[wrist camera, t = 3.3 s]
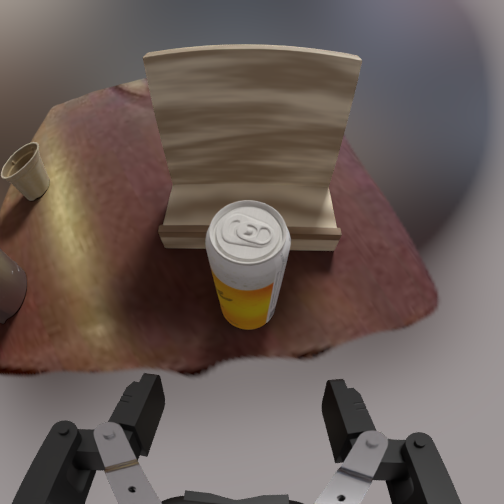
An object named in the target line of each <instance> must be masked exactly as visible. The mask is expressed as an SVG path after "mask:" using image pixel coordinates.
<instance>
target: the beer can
mask: <svg viewBox="0 0 504 504" xmlns="http://www.w3.org/2000/svg"><path fill="white" fill-rule="evenodd" d="M205 245H206V250H207V255H208V259H209V263H210V267H211V271H212V275H213V279H214V283H215V287H216V290H217V294H218V298H219V302H220V306H221V309H222V313H223V315H224V317H225V318H226V320H227V321H228V322H229V323H230V324H232V325H233V326H235V327H237V328H240V329H246V330H251V329H256V328H259V327H261V326H263V325H265V324H266V323H267V322H268V321H269V320H270V319H271V317H272V316H273V314H274V311H275V307H276V303H277V299H278V295H279V291H280V287H281V283H282V279H283V275H284V271H285V267H286V263H287V259H288V255H289V250H290V245H291V238H290V233H289V230H288V228H287V226H286V224H285V221H284V219H283V218H282V216H281V215H280V214H279V212H278V211H276V210H275V209H274V208H273V207H271V206H269V205H267V204H265V203H262V202H259V201H252V200H244V201H238V202H234V203H231V204H229V205H227V206H225V207H223V208H222V209H221V210H220V211H218V213H217V214H216V215H215V216H214V218H213V219H212V221H211V224H210V226H209V228H208V231H207V234H206V239H205Z"/></svg>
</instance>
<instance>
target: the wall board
mask: <svg viewBox="0 0 504 504" xmlns="http://www.w3.org/2000/svg"><path fill="white" fill-rule="evenodd" d="M143 61H144V66H145V71H146V76H147V81H148V86H149V90H150V95H151V99H152V104H153V108H154V113H155V117H156V121H157V125H158V129H159V133H160V137H161V141H162V145H163V149H164V153H165V157H166V161H167V164H168V168H169V172H170V176H171V179H172V183H173V187H172V191H171V194H170V198H169V202H168V206H167V210H166V215H165V219H164V223H163V225H159V229H158V233H159V236H160V238H161V240H162V242H163V244H164V247H165V248H195V249H206V245H205V239H206V234H207V231H208V228H209V226H210V224H211V221H212V219H213V218H214V216H215V215H216V214H217V213H218V211H220V210H221V209H222V208H223V207H225V206H227V205H229V204H231V203H234V202H238V201H244V200H252V201H259V202H262V203H265V204H267V205H269V206H271V207H273V208H274V209H275V210H276V211H278V212H279V214H280V215H281V216H282V218H283V219H284V221H285V224H286V226H287V228H288V230H289V233H290V238H291V245H290V250H311V251H334V250H335V248H336V246H337V244H338V241H339V239H340V237H341V230H340V228H337V227H336V222H335V216H334V211H333V206H332V201H331V197H330V192H329V184H330V181H331V177H332V174H333V171H334V167H335V164H336V160H337V157H338V153H339V150H340V146H341V143H342V139H343V136H344V132H345V128H346V124H347V121H348V117H349V113H350V109H351V105H352V101H353V97H354V93H355V89H356V85H357V81H358V77H359V72H360V68H361V64H362V60H361V59H360V58H359V57H358V56H356V55H351V54H346V53H340V52H334V51H327V50H321V49H313V48H304V47H293V46H279V45H250V44H246V45H245V44H243V45H242V44H240V45H211V46H197V47H187V48H177V49H170V50H162V51H156V52H150V53H147V54H146V55H145V56H144V57H143Z"/></svg>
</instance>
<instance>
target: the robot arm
mask: <svg viewBox="0 0 504 504" xmlns="http://www.w3.org/2000/svg"><path fill="white" fill-rule="evenodd" d="M26 288H27V279H26V275H25V272H24V271H23V269H22V268H21V267H20V266H18V264H17V263H15V262H14V261H13V260H12V259H11V258H10V257H9V256H7V255H6V254H5V253H4V252H3V251H2V250H1V249H0V323H2V324H4V322H5V321H6V319H8V318H9V317H11V316H13V315H14V314H15V313H16V312H17V310H18V309H19V307H20V306H21V304H22V302H23V299H24V297H25V293H26ZM164 406H165V396H164V392H163V387H162V383H161V378H160V376H159V375H155V374H147V373H144V374H143V376H142V378H141V380H140V382H135V381H134V382H133V383H132V384H130V385H129V386H128V387H127V388H126V390H125V391H124V393H123V396H122V397H121V399H120V401H119V403H118V404H117V406H116V408H115V410H114V412H113V414H112V416H111V417H110V419H109V421H108V422H105V423H102V424H100V425H98V426H97V427H96V428H95V429H94V430H85V429H77V427H76V425H75V424H74V423H72V422H70V421H60V422H57V423H56V424H54V425H53V427H52V429H51V430H50V432H49V434H48V435H47V437H46V439H45V440H44V442H43V444H42V446H41V448H40V449H39V451H38V453H37V455H36V457H35V458H34V460H33V462H32V464H31V466H30V468H29V470H28V472H27V474H26V475H25V478H24V479H23V481H22V483H21V486H20V488H19V490H18V492H17V494H16V496H15V498H14V500H13V502H12V504H85V501H86V498H87V495H88V493H89V490H90V487H91V484H92V481H93V478H94V476H95V473H96V470H104V471H105V474H106V476H107V479H108V481H109V484H110V486H111V488H112V491H113V493H114V495H115V497H116V499H117V501H118V504H303V503H300V502H297V501H291V500H289V497H288V495H263V496H258V497H253V498H248V499H241V500H233V499H229V498H225V497H221V496H218V495H214V494H211V493H202V492H194V491H185V495H184V496H179V497H174V498H170V499H167V500H164V501H162V502H161V501H160V500H159V498H158V496H157V495H156V493H155V491H154V490H153V488H152V486H151V484H150V483H149V481H148V479H147V477H146V476H145V474H144V472H143V470H142V468H141V466H140V465H139V463H138V458H139V456H140V455H142V456H146V457H147V456H148V453H149V450H150V447H151V444H152V441H153V438H154V436H155V433H156V430H157V427H158V424H159V421H160V418H161V416H162V413H163V410H164ZM322 414H323V418H324V422H325V425H326V429H327V433H328V436H329V441H330V445H331V448H332V452H333V456H334V460H335V463H340V462H343V464H342V466H341V467H340V468H339V469H338V470H337V472H336V473H335V475H334V476H333V478H332V479H331V481H330V482H329V484H328V485H327V487H326V488H325V489H324V491H323V492H322V494H321V495H320V496H319V497H318V499H317V500H316V502H315V503H314V504H360V503H361V501H362V499H363V498H364V496H365V494H366V492H367V490H368V488H369V487H370V485H371V483H372V480H386V484H387V487H388V491H389V495H390V498H391V502H392V504H461V502H460V499H459V497H458V495H457V493H456V490H455V488H454V485H453V483H452V481H451V478H450V476H449V474H448V472H447V469H446V467H445V465H444V463H443V461H442V459H441V456H440V454H439V452H438V450H437V448H436V446H435V444H434V442H433V440H432V438H431V437H430V436H429V435H427V434H425V433H420V432H418V433H413V434H411V435H410V436H408V437H407V439H406V440H391V439H387V437H386V436H385V435H384V434H383V433H381V432H378V431H376V429H375V426H374V424H373V422H372V419H371V417H370V415H369V413H368V410H367V409H366V406H365V404H364V401H363V399H362V397H361V395H360V393H358V392H357V391H356V390H355V389H354V388H348V389H347V386H346V384H345V381H344V380H343V379H336V380H328V381H327V383H326V388H325V392H324V396H323V401H322Z"/></svg>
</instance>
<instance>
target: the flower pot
mask: <svg viewBox="0 0 504 504" xmlns="http://www.w3.org/2000/svg"><path fill="white" fill-rule="evenodd" d="M1 177H2V178H3V179H6V180H7V181H8V182H11V183H12V184H13V185H14V186H15V187H16V188H17V189H18V190H19V191H20V192H21V193H22V194H23V195H24V196H25V197H26V198H27V199H28V200H30V201H33V200H35V199H36V198H38V197H40V196H42V195H43V194H44V193H45V191H46V190H47V188H48V187H49V181H50V179H49V177H48V174H47V172H46V170H45V167H44V165H43V162H42V160H41V158H40V152H39V145H38V143H36V142H32V143H29V144H27V145H25V146H23V147H21V148H20V149H19V150H18V151H16V152H15V153H14V154H13V155H12V156H11V157H10V158H9V159H8V161H7V162H6V164H5V165H4V167H3V169H2V172H1Z"/></svg>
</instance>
